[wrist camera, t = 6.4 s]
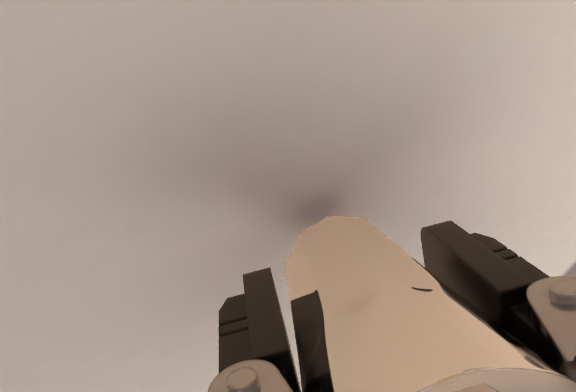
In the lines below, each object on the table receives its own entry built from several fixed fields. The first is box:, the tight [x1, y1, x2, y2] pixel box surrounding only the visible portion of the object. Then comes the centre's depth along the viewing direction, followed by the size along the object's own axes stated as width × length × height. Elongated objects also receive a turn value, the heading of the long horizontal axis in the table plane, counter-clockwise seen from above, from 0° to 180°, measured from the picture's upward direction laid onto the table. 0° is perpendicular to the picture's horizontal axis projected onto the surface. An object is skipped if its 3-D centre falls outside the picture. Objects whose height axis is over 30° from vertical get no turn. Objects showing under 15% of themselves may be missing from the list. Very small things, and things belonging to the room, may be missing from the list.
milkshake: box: [285, 215, 576, 392], centre depth 9 cm, size 4×5×10 cm
